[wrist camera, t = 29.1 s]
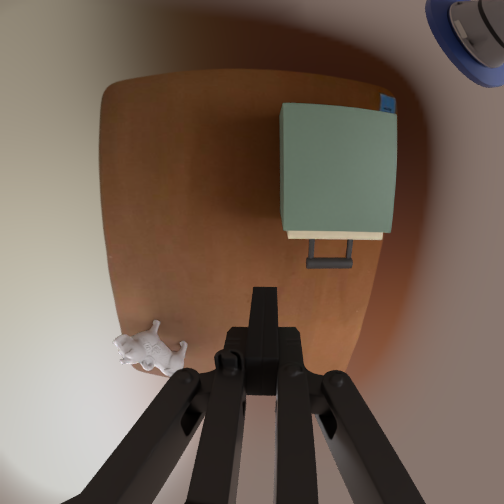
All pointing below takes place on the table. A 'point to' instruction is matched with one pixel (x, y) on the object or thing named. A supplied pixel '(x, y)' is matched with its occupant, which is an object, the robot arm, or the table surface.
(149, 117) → the table surface
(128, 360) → the dog figurine
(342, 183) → the cabinet
